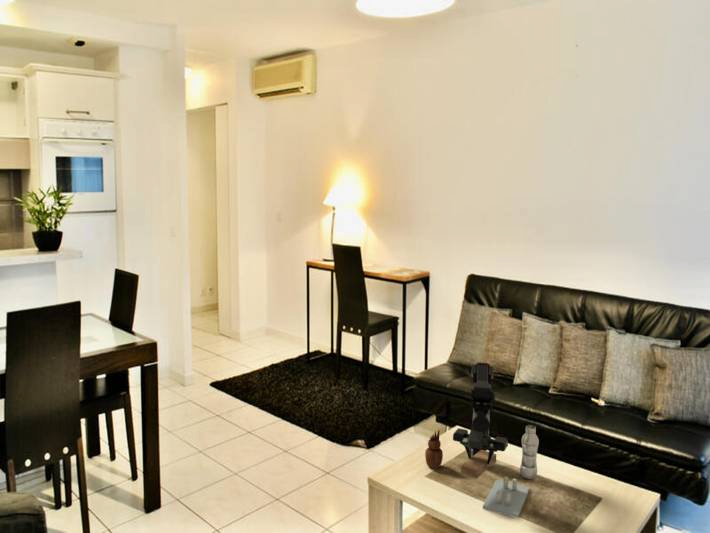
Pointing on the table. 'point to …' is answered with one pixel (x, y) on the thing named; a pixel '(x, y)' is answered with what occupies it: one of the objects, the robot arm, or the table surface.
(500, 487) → the peg stand
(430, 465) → the wooden figurine
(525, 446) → the plastic bottle
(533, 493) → the table surface
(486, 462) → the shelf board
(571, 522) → the table surface
